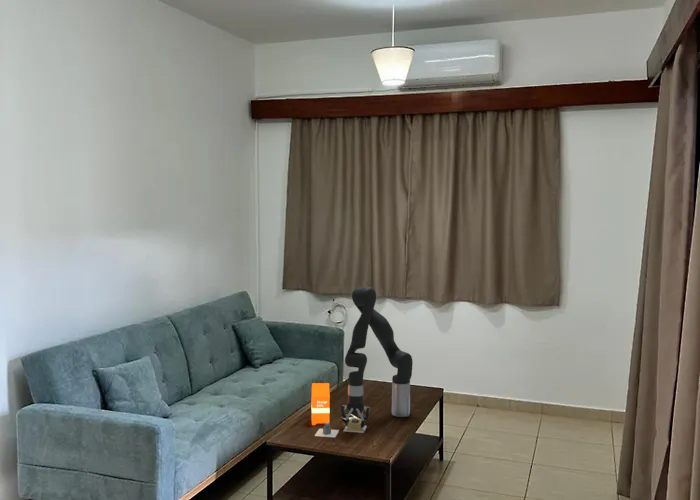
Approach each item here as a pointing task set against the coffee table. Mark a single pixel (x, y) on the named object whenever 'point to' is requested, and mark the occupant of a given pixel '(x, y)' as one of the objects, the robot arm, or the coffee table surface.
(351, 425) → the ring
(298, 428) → the coffee table surface
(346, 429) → the rod stand
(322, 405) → the orange juice
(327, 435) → the hub
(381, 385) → the coffee table surface
